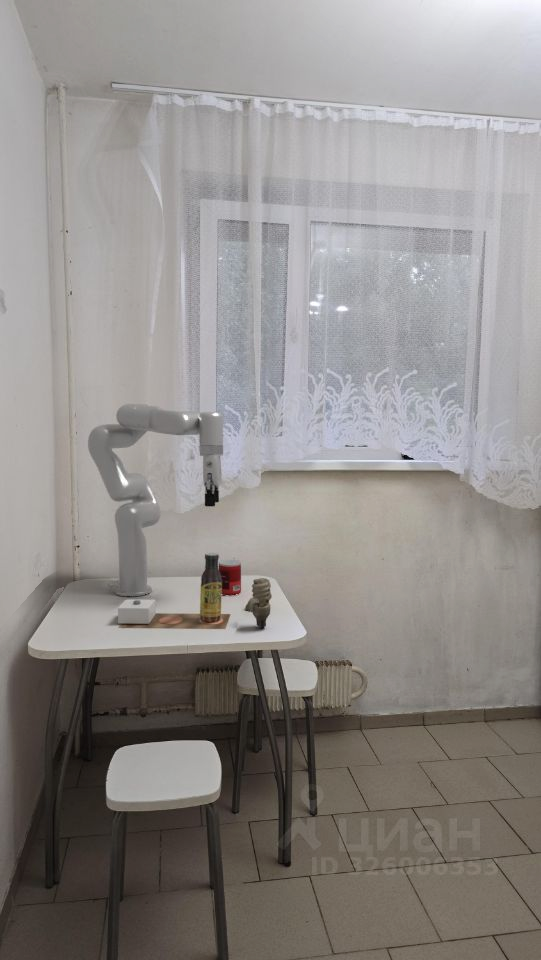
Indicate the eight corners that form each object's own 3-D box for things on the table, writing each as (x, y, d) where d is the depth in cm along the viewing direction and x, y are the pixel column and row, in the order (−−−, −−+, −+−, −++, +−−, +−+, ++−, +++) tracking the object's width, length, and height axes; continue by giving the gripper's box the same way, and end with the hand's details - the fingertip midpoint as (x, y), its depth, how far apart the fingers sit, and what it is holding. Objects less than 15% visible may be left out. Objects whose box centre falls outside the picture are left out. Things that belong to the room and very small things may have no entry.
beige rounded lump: (261, 614, 203) (261, 583, 202) (243, 609, 208) (243, 579, 207) (273, 611, 207) (273, 580, 206) (255, 606, 212) (255, 576, 211)
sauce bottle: (203, 624, 189) (202, 557, 187) (197, 618, 195) (196, 552, 193) (225, 621, 192) (224, 555, 190) (218, 615, 197) (217, 550, 195)
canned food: (242, 590, 231) (242, 559, 230) (239, 596, 223) (239, 564, 222) (221, 589, 232) (220, 559, 231) (217, 595, 224) (216, 564, 223)
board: (117, 631, 187) (117, 627, 187) (130, 616, 201) (130, 612, 201) (225, 633, 186) (225, 628, 186) (230, 617, 200) (230, 613, 199)
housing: (118, 623, 189) (117, 605, 189) (126, 613, 198) (125, 596, 198) (149, 623, 189) (148, 605, 188) (155, 614, 198) (155, 597, 197)
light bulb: (273, 631, 187) (273, 579, 186) (254, 632, 186) (254, 581, 184) (267, 625, 193) (267, 575, 191) (249, 626, 191) (249, 576, 190)
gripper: (219, 452, 199) (220, 508, 201) (226, 449, 216) (226, 500, 218) (195, 452, 199) (196, 508, 201) (203, 449, 217) (204, 500, 218)
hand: (212, 504), depth 210 cm, fingers open, 9 cm apart
